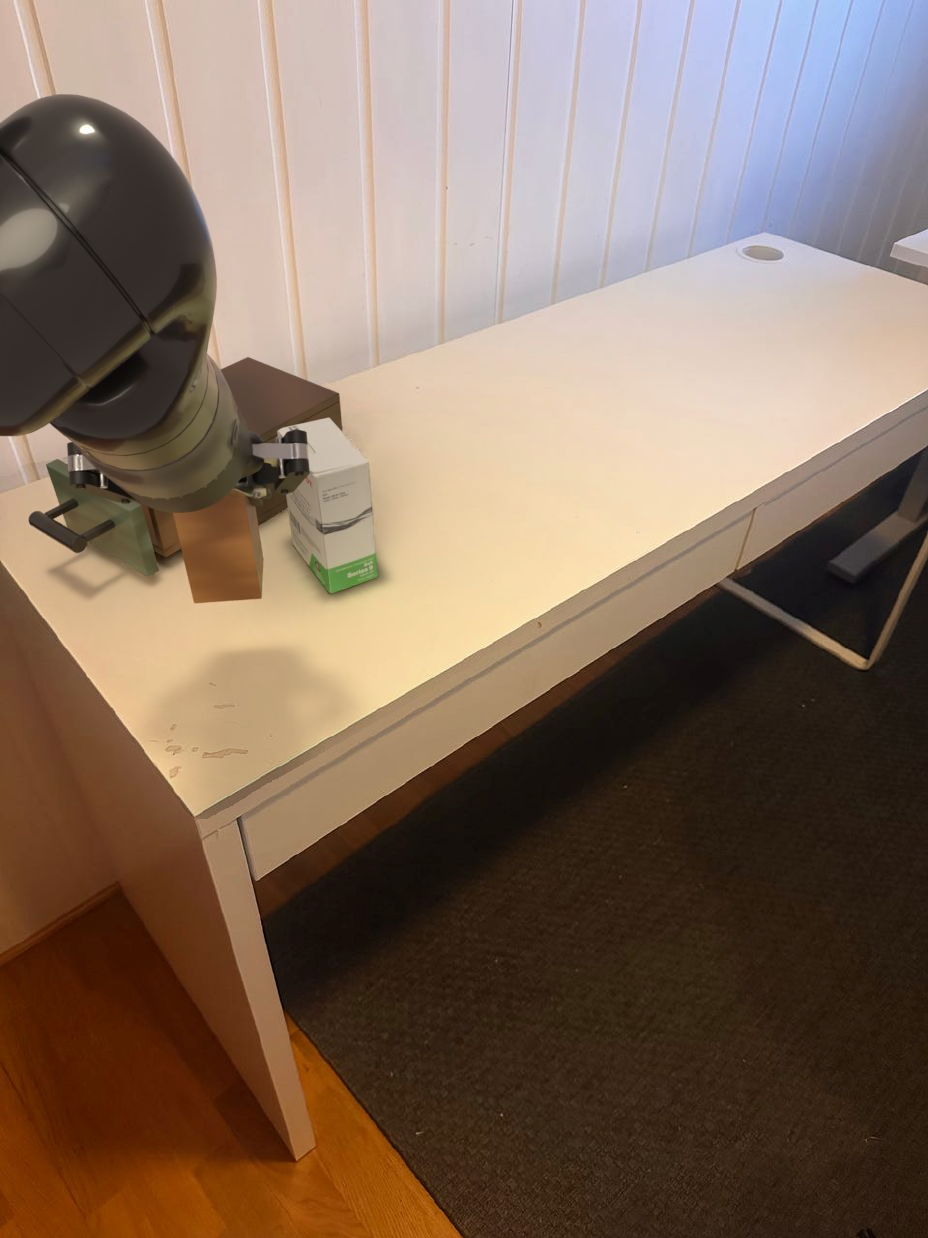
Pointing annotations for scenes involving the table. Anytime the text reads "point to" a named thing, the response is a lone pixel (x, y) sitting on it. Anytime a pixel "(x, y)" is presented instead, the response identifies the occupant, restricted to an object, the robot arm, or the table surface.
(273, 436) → the cabinet
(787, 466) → the table surface
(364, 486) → the ink box
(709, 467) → the table surface
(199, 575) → the brown wooden block
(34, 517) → the drawer
